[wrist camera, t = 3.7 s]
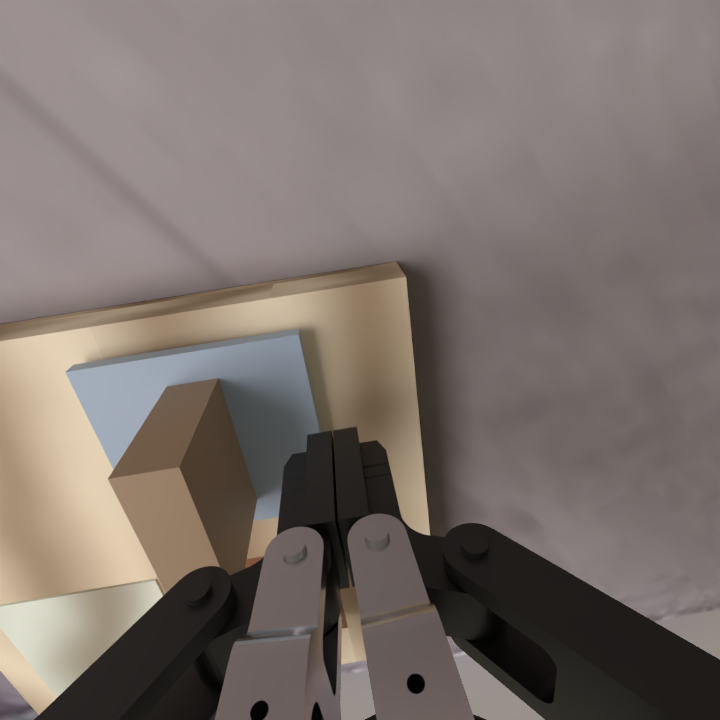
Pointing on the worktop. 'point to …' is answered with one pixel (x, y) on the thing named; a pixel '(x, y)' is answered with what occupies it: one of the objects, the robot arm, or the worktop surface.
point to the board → (92, 468)
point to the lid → (200, 442)
